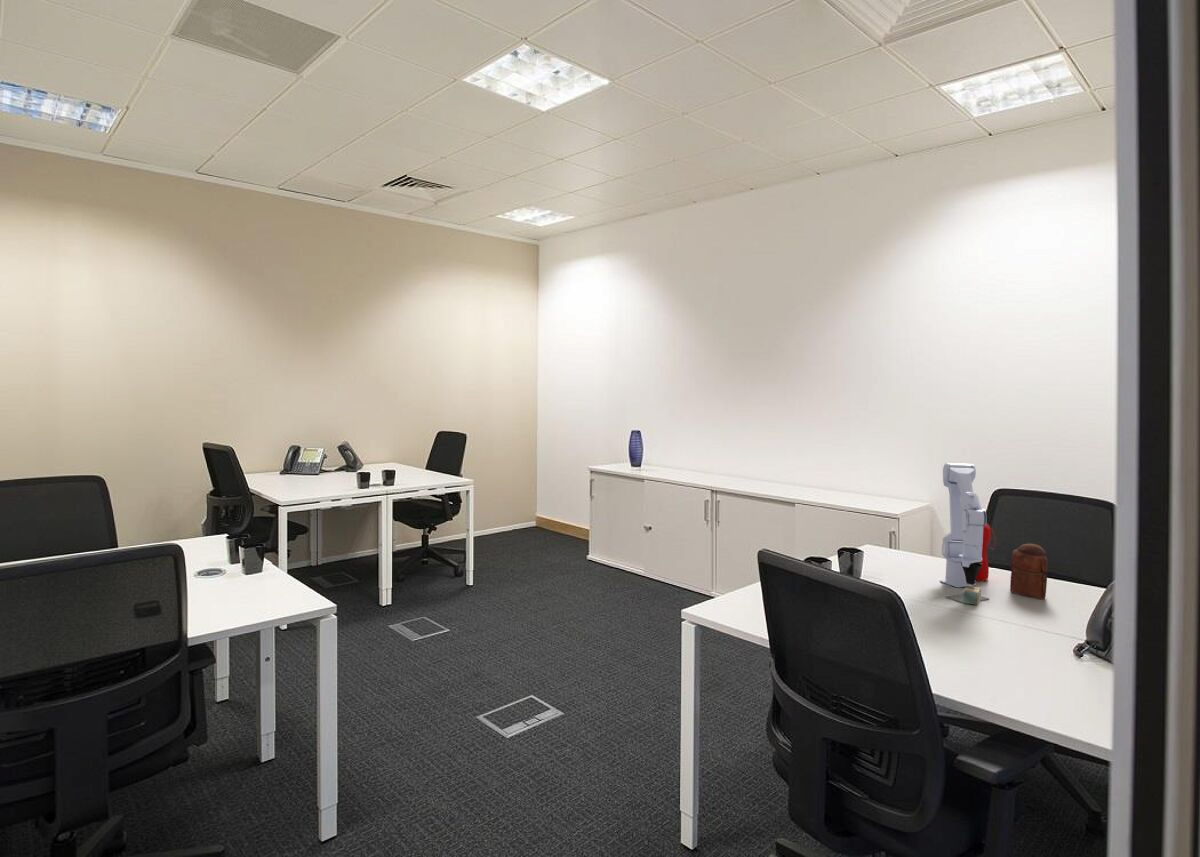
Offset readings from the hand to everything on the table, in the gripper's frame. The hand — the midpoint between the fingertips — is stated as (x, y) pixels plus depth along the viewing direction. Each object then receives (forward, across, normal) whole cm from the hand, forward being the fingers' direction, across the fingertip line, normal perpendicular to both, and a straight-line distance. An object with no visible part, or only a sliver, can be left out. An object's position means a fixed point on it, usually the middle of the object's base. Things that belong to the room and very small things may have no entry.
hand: (970, 583), depth 230 cm
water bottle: (+5, -28, -6) cm, 29 cm away
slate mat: (+5, 0, -1) cm, 5 cm away
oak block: (+3, 0, +1) cm, 3 cm away
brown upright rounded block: (+5, -20, +13) cm, 24 cm away
